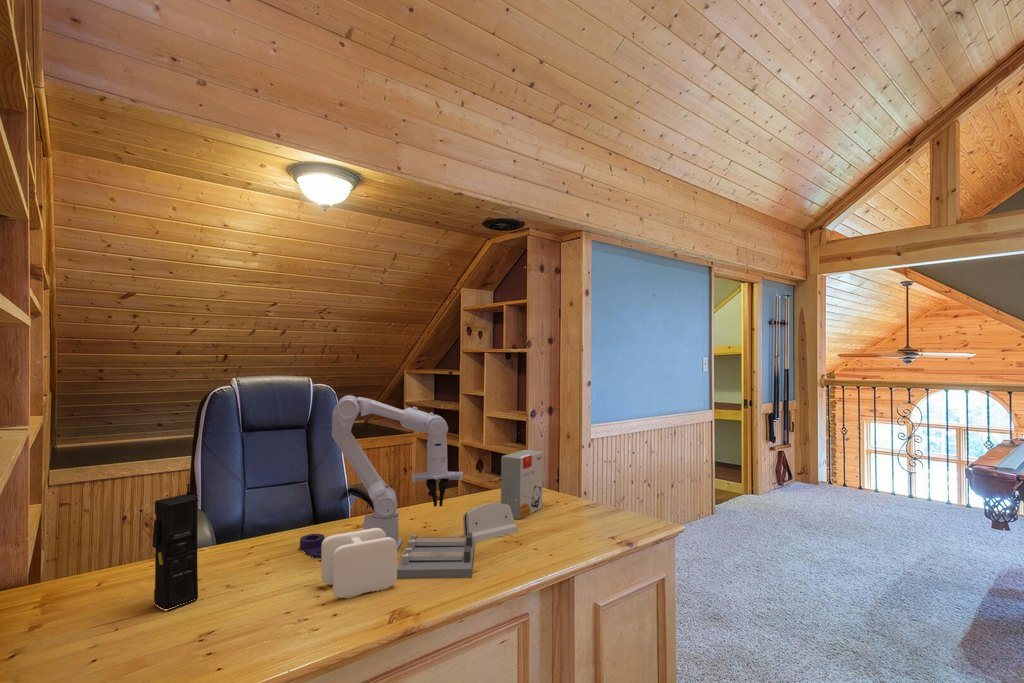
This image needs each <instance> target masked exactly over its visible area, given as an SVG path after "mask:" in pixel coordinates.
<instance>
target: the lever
mask: <svg viewBox="0 0 1024 683" xmlns="http://www.w3.org/2000/svg"><path fill="white" fill-rule="evenodd" d="M299 538H300V539H299V551H300V550H302V551H304V552H305V553H306V554H305V553H304V554H305V555H307V554H308V555H310V556H311V557H310V556H309V557H310V558H312V557H313V558H312V559H314V558H319V559H321V547H322V542H323V540H324V539H325V535H324V534H322V533H310V534H309V533H308V534H305V535H303V536H301V537H299ZM302 551H301V552H302ZM308 555H307V556H308Z"/></svg>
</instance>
